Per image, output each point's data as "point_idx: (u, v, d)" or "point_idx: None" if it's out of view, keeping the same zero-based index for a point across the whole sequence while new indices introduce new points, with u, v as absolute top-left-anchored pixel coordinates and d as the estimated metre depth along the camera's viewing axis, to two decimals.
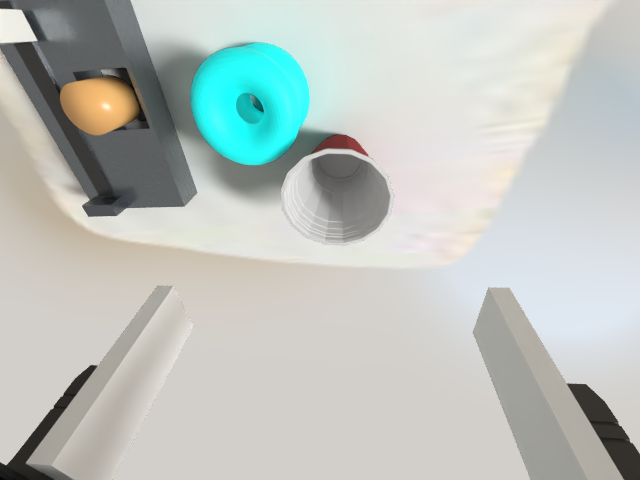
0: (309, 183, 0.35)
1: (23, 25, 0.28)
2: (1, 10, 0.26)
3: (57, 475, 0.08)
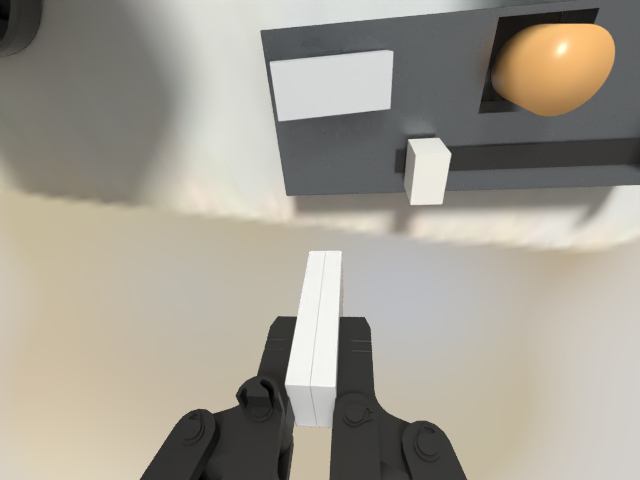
0: None
1: (424, 141, 0.23)
2: (413, 147, 0.22)
3: (299, 399, 0.09)
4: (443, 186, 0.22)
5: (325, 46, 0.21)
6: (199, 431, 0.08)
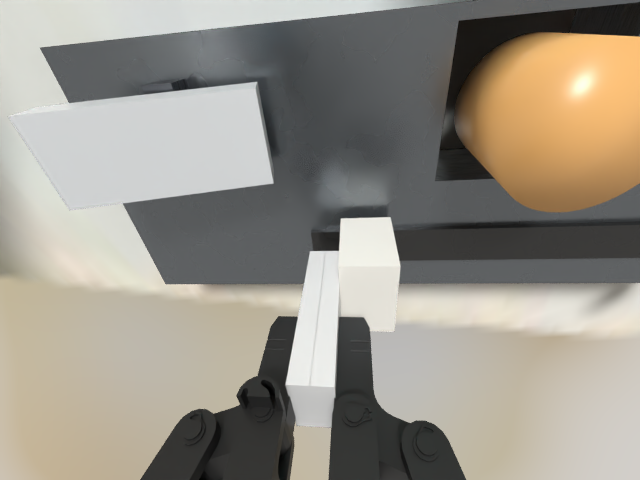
0: None
1: (365, 225, 0.14)
2: (341, 242, 0.13)
3: (300, 399, 0.09)
4: (393, 309, 0.13)
5: (158, 75, 0.12)
6: (200, 431, 0.08)
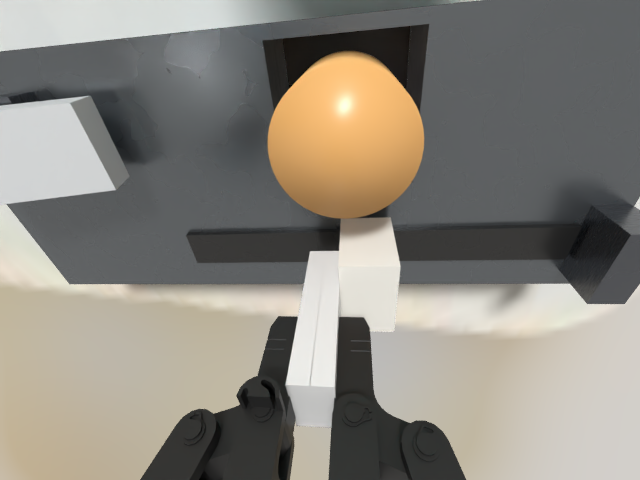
0: None
1: (365, 225, 0.14)
2: (342, 242, 0.13)
3: (300, 399, 0.09)
4: (393, 309, 0.13)
5: (9, 88, 0.13)
6: (200, 431, 0.08)
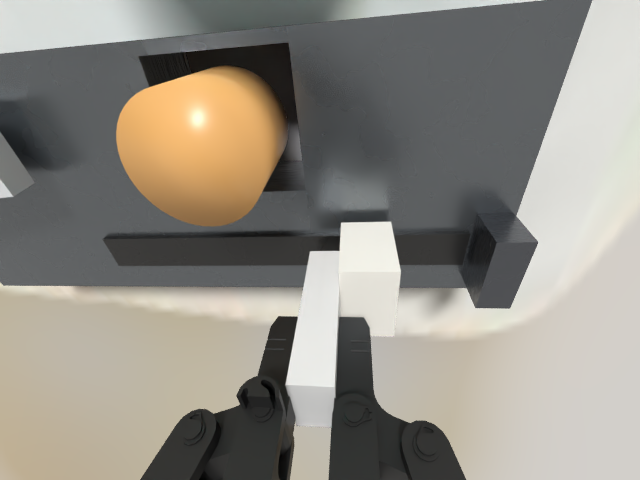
0: None
1: (365, 229, 0.14)
2: (342, 247, 0.13)
3: (300, 399, 0.09)
4: (393, 314, 0.13)
5: None
6: (200, 431, 0.08)
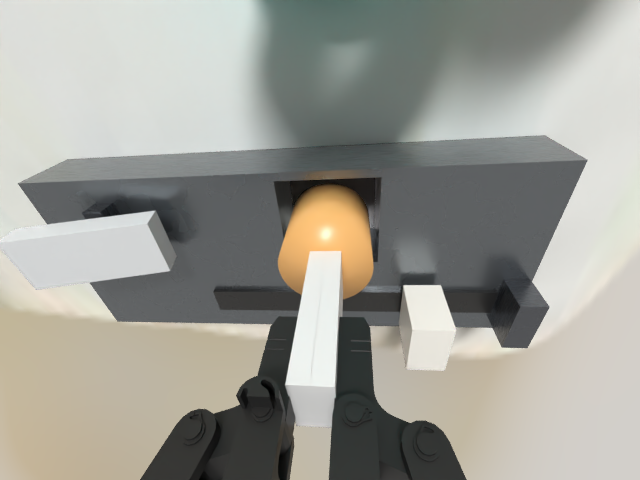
0: None
1: (423, 292, 0.19)
2: (409, 308, 0.18)
3: (300, 399, 0.09)
4: (446, 356, 0.18)
5: (95, 200, 0.19)
6: (199, 431, 0.08)
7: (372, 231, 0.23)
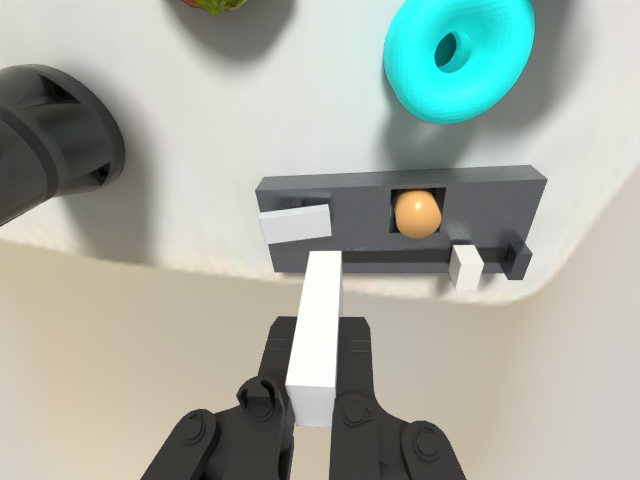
0: None
1: (464, 248, 0.36)
2: (458, 255, 0.35)
3: (300, 399, 0.09)
4: (478, 280, 0.35)
5: (293, 198, 0.36)
6: (200, 431, 0.08)
7: None
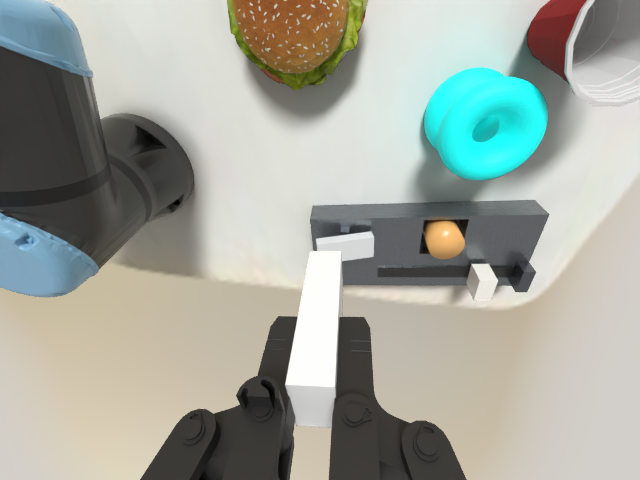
0: (584, 70, 0.29)
1: (481, 266, 0.44)
2: (476, 272, 0.43)
3: (300, 399, 0.09)
4: (492, 293, 0.43)
5: (341, 226, 0.43)
6: (200, 431, 0.08)
7: None
